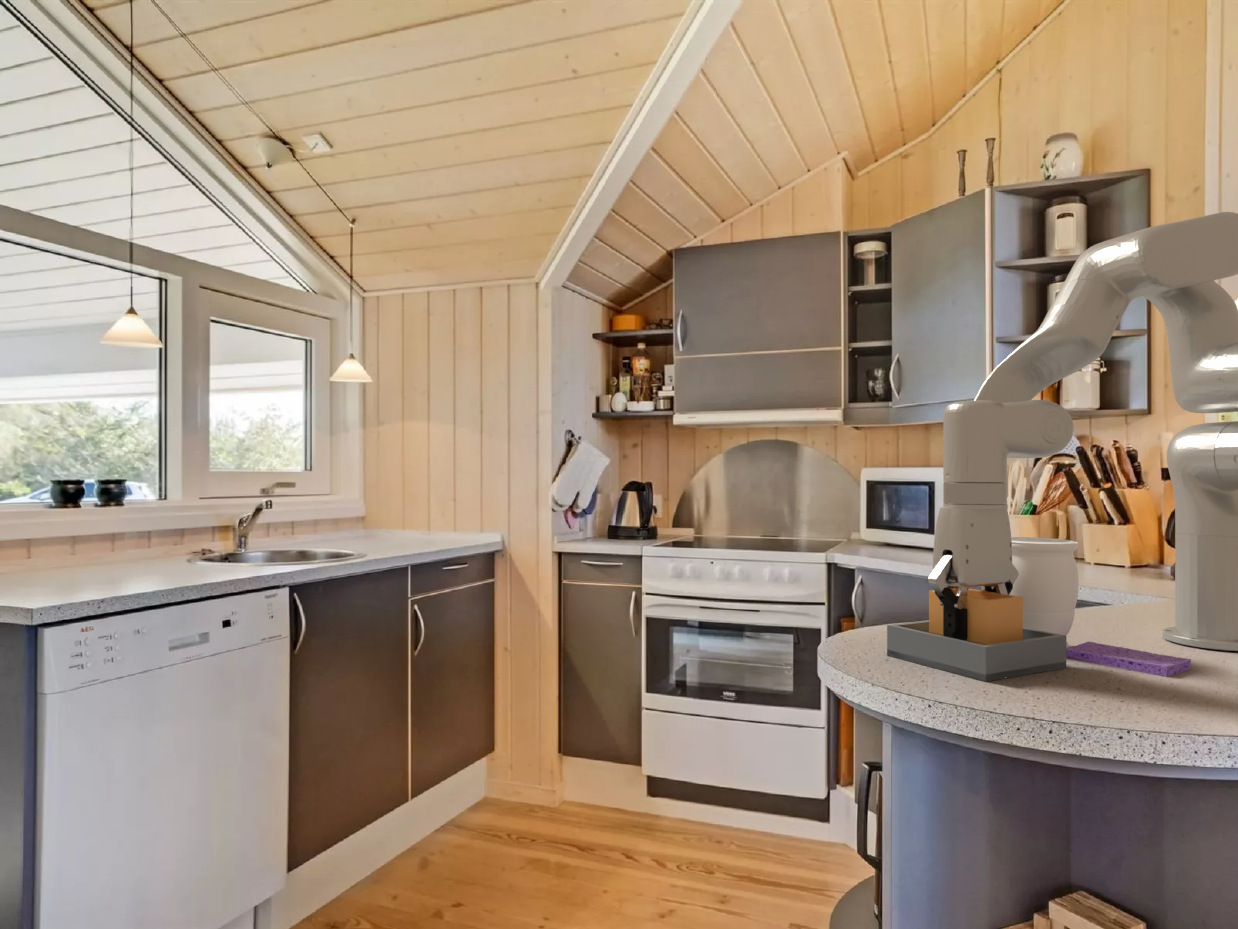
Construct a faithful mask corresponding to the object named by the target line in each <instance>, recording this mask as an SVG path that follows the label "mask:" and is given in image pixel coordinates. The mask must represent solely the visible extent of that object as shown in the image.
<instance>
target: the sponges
mask: <svg viewBox="0 0 1238 929" xmlns="http://www.w3.org/2000/svg"><path fill="white" fill-rule="evenodd" d="M1066 659H1072V660H1077V661H1082V662H1087V663H1093V664H1097V665H1101V666H1102V665H1103V666H1109V667H1112V668H1117V667H1118V668H1117V669H1123V670H1129V671H1134V672H1138V673H1144V674H1148V675H1154V676H1159V677H1164V678H1168V677H1171V676H1174V675H1177V674H1180V673H1183V672H1187V671H1189V670H1191V662H1192V659H1191V658H1184V657H1178V656H1177V657H1176V656H1174V655H1173V656H1172V655H1167V654H1158V653H1152V652H1148V651H1143V650H1138V649H1132V648H1127V647H1122V646H1115V645H1110V644H1103V643H1099V642H1098V643H1097V642H1094V641H1086V642H1083V643H1080V644H1077V645H1074V646H1069V647H1067V648H1066Z"/></svg>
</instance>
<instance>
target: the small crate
mask: <svg viewBox="0 0 1238 929" xmlns="http://www.w3.org/2000/svg"><path fill="white" fill-rule="evenodd" d="M957 591H958V589H953V592H954V594H955V595H957ZM939 601H940V600H939V598H938V597H937V596H936V594H935V590H933V589H932V590H929V591H928V620H929V633H932V634H936V635H941V636H944V635H943V606H941V605H940V602H939ZM963 608H964V609H967V640H965V641H968V642H972V643H977V644H981V645H989V644H996V643H1004V642H1011V641H1018V640H1023V597H1020V596H1013V595H1007V594H1000V593H993V592H987V591H983V590H979V589H975V588H974V589H972V588H969V590H968V593H967V596H966V600H965V603H964V606H963Z"/></svg>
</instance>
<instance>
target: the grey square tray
mask: <svg viewBox="0 0 1238 929" xmlns="http://www.w3.org/2000/svg"><path fill="white" fill-rule="evenodd" d="M886 633H887V634H886V656H887V657H888V656H889V657H891V658H895V659H900V660H902V661H907V662H910V663H915V664H918V665H921V666H925V667H930V668H933V669H936V670H941V671H944V672H948V673H952V674H956V675H960V676H963V677H965V678H966V677H967V678H970V679H975V680H978V681H981V682H993V681H997V680H998V679H999V680H1003V679H1002V678H1004V679H1006V678H1005V677H1010V678H1014V677H1020V676H1025V675H1026V676H1027V675H1033V674H1038V673H1044V672H1051V671H1055V670H1056V671H1057V670H1061V669H1067V658H1066V641H1067V635H1060V634H1055V633H1050V632H1045V631H1039V630H1034V629H1029V628H1024V627H1023V640H1018V641H1011V642H1004V643H996V644H989V645H981V644H977V643H972V642H968V641H963V640H959V639H954V638H950V637H945V636H941V635H936V634H932V633H929V619H927V620H919V621H911V622H901V623H893V624H887V626H886ZM992 680H993V681H992ZM999 680H998V681H999Z"/></svg>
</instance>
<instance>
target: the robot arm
mask: <svg viewBox="0 0 1238 929" xmlns="http://www.w3.org/2000/svg"><path fill="white" fill-rule="evenodd" d="M1237 275H1238V213H1237V212H1234V211H1221V212H1217V213H1216V212H1215V213H1212V214H1207V215H1204V216H1198V217H1194V218H1189V219H1185V220H1180V221H1175V222H1170V223H1163V224H1159V225H1154V226H1149V227H1146V228H1143V229H1139V230H1137V231H1136V230H1135V231H1133V232H1129V233H1127V234H1124V235H1120V236H1116V237H1114V238H1110V239H1107V240H1103V241H1102V242H1099V243H1095V244H1093V245H1092V246H1090V247H1089V248H1087V249H1085V250H1084V251H1083V252H1082V253H1081V254H1080V255H1079V256H1078V258H1077V259H1076V260H1075V262H1074V264H1073V265H1072V267H1071V269H1070V271H1069V272H1068V274H1067V277H1066V279H1065V280H1064V282H1063V283H1062V286H1061V288H1060V290H1059V291H1058V293H1057V295H1056V297H1055V298H1054V300H1053V302H1052V304H1051V306H1050V308H1049V309H1048V311H1047V313H1046V314H1045V317H1044V318H1043V321H1042V322H1041V323H1040V326H1039V327H1038V328H1037V330H1036V331H1035V332H1033V333H1032V335H1030V336H1029V337H1028V338H1027V339H1026V340H1024V341H1023V342H1022V343H1020V344H1019V346H1018V347H1016V348H1015V349H1014V350H1013V351H1012V353H1011V352H1010V354H1009V355H1008V356H1007V357H1006V358H1005V359H1003V360H1002V361H1001V362H1000V363H999V364H998V365H997V366H996V367H995V368H993V370H992V371H991V373H989V375H988V376H987V378H986V379H985V380H984V381H983V383H982V385H981V387H980V388H979V390H978V391H977V393H976V395H975V397H974V399H972V400H962V401H954V402H951V403H949V404H948V405H947V406H946V407H945V408H944V412H943V423H942V424H943V427H942V428H943V440H942V441H943V442H942V443H943V444H942V446H943V454H942V455H943V456H942V457H943V461H942V462H943V467H942V468H943V472H942V473H943V474H942V475H943V483H942V484H943V486H942V487H943V488H942V489H943V492H942V493H943V494H942V496H943V499H942V500H943V503H942V504H943V506H942V507H939V510H938V513H937V518H936V519H937V520H936V523H935V524H936V525H935V530H934V539H933V553H932V554H933V555H932V572H931V573H930V574H929V576H927V581H928V583H929V585H930V587H931V588H932V590H935V594H936V596H937V597H938V598H939V600H940V601H939V602H940V605H941V606H943V635H944V636H945V637H950V638H954V639H959V640H963V641H965V640H967V609H964V608H963V606H964V603H965V600H966V596H967V593H968V590H969V589H970V588H972V587H973V588H974V587H981V591H987V592H993V593H1000V594H1007V595H1009V594H1010V592H1011V591H1012V589H1013V584H1014V583H1015V581H1016V579H1017V577H1018V575H1019V572H1018V570H1017V569H1016V568H1015V566H1014V565H1013V564H1012V540H1011V537H1012V530H1011V522H1010V516H1009V511H1008V483H1007V482H1008V459H1037V458H1038V459H1039V458H1040V459H1041V458H1047V457H1051V456H1053V455H1055V454H1058V453H1060V452H1061V451H1063V450H1065V448H1066V447H1067V446H1068V445H1069V444H1070V442H1071V440H1072V438H1073V435H1074V430H1075V429H1074V427H1075V426H1074V421H1073V419H1072V417H1071V415H1070V413H1069V412H1068V411H1067V410H1066V409H1065V408H1064V407H1063V406H1061V405H1060V404H1058V403H1056V402H1053V401H1050V400H1046V399H1034V398H1035V397H1036V396H1038V394H1040V393H1041V392H1043V391H1044V390H1045V389H1047V388H1048V387H1050V386H1051V385H1053V384H1055V383H1057V382H1059V381H1061V380H1063V379H1064V378H1066V377H1068V376H1071V375H1073V374H1074V373H1076V372H1078V371H1080V370H1082V369H1083V368H1085V367H1087V366H1088V365H1090V364H1092V363H1094V362H1095V361H1096V360H1098V359H1099V358H1100V357H1101V356H1102V355H1103V354H1104V352H1106V349H1107V347H1108V345H1109V343H1110V341H1111V338H1112V337H1113V335H1114V333H1115V331H1116V329H1117V327H1118V325H1120V324H1119V323H1120V322H1121V319H1122V318H1123V316H1124V314H1125V312H1126V310H1127V308H1128V307H1129V305H1130V304H1131V302H1132V301H1133V300H1135V299H1136V298H1141V297H1144V298H1145V299H1147V301H1149V302H1151V304H1152V305H1153V306H1154V307H1155V308H1156V309H1157V310H1158V312H1159V313H1160V315H1161V317H1162V319H1163V321H1164V324H1165V329H1166V335H1167V344H1168V354H1169V363H1170V373H1171V381H1172V382H1171V384H1172V390H1173V395H1174V398H1175V401H1176V403H1177V405H1178V406H1179V407H1180V408H1182V409H1181V410H1184V411H1186V412H1189V413H1192V414H1193V413H1194V414H1220V413H1221V414H1222V413H1236V412H1237V413H1238V307H1237V304H1236V302H1235V300H1234V299H1233V297H1232V296H1231V295H1230V294H1229V292H1228V291H1227V290H1226V289H1224V287H1222V286H1221V285H1220V284H1219V283H1218V282H1216V281H1218V280H1221V279H1227V278H1230V277H1234V276H1237ZM1166 464H1167V468H1168V473H1169V476H1170V481H1171V487H1172V491H1173V499H1174V517H1175V518H1174V520H1175V529H1174V534H1175V535H1174V537H1175V538H1174V539H1175V540H1174V550H1175V551H1174V552H1175V553H1174V556H1175V557H1174V558H1175V560H1174V565H1175V566H1174V567H1175V568H1174V574H1175V575H1174V576H1175V577H1174V579H1175V580H1174V581H1175V582H1174V584H1175V585H1174V594H1175V596H1174V597H1175V598H1174V619H1175V620H1174V623H1175V625H1174V626H1171V627H1169V626H1168V627H1165V628H1163V629H1162V638H1164V639H1165V640H1167V641H1169V642H1173V643H1175V644H1180V645H1185V646H1190V647H1194V648H1202V649H1210V650H1218V651H1226V652H1227V651H1231V652H1238V420H1237V421H1219V422H1206V423H1205V422H1204V423H1199V424H1195V425H1191V426H1188V427H1185V428H1183V429H1181V430H1179V432H1177V433H1176V434H1175V435H1174V436H1173V437H1172V438H1171V439H1170V441H1169V444H1168V445H1167V449H1166ZM993 587H994V588H993ZM953 589H958V591H957V595H955V594H954V592H953Z"/></svg>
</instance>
